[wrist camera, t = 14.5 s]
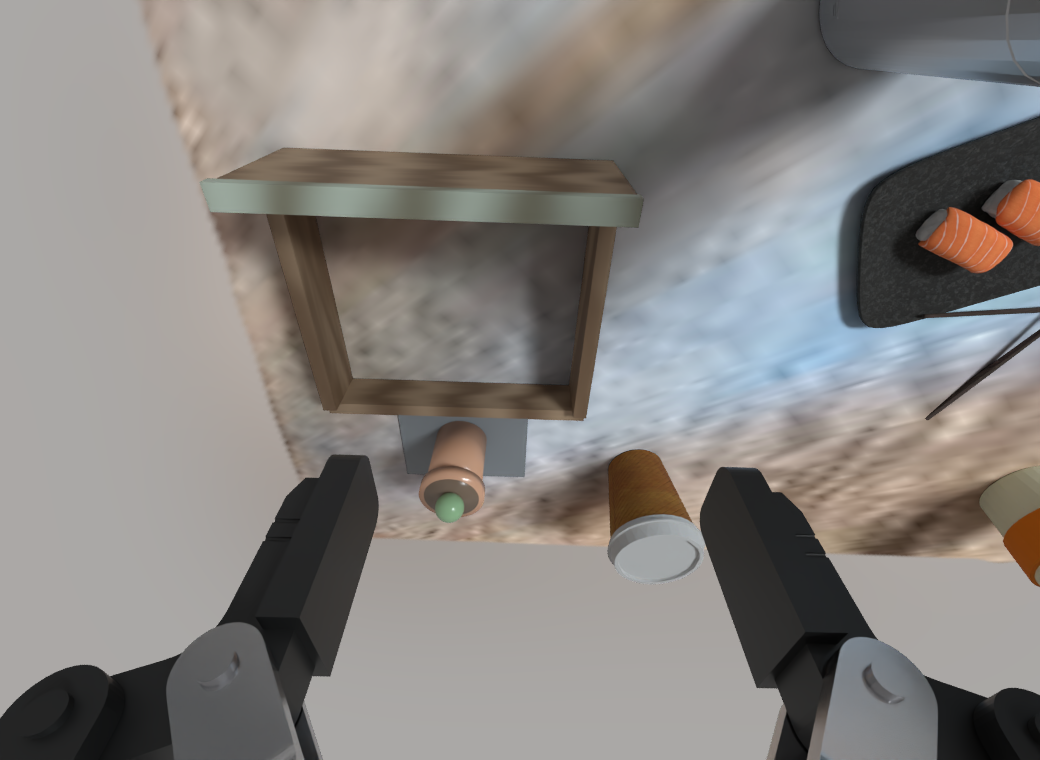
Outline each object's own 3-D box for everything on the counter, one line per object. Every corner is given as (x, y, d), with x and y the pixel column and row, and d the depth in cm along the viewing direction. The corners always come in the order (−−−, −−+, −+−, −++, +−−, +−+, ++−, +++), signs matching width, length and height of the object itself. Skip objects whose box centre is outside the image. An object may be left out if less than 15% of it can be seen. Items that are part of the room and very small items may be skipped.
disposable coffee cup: (691, 469, 54) (727, 562, 45) (625, 504, 58) (645, 596, 49) (645, 425, 50) (674, 518, 41) (577, 466, 54) (589, 559, 45)
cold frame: (613, 157, 34) (643, 198, 25) (579, 394, 48) (591, 474, 39) (282, 144, 34) (199, 182, 25) (343, 387, 47) (302, 466, 39)
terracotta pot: (489, 418, 49) (479, 498, 41) (491, 459, 53) (483, 540, 45) (430, 417, 49) (408, 497, 41) (436, 458, 53) (418, 538, 45)
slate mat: (528, 398, 48) (528, 399, 48) (524, 475, 55) (524, 477, 55) (395, 393, 48) (394, 395, 48) (408, 471, 55) (407, 473, 55)
